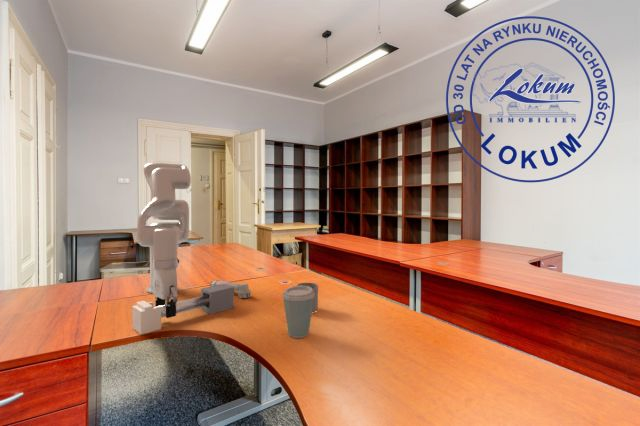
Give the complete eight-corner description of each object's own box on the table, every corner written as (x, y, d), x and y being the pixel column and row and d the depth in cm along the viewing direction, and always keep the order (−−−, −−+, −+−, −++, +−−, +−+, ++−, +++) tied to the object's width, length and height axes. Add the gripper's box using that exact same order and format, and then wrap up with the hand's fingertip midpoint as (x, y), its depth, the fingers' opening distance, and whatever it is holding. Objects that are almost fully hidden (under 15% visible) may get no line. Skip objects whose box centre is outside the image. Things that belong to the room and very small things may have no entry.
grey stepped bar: (217, 279, 155) (252, 281, 140) (218, 292, 155) (253, 296, 140) (208, 281, 151) (243, 283, 136) (209, 295, 150) (244, 299, 136)
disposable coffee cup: (301, 344, 96) (302, 296, 95) (274, 335, 102) (275, 290, 101) (319, 332, 105) (320, 288, 104) (294, 324, 111) (294, 282, 110)
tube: (143, 319, 106) (143, 307, 106) (204, 304, 123) (204, 293, 123) (147, 323, 104) (147, 310, 103) (209, 306, 120) (209, 296, 120)
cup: (320, 308, 128) (321, 284, 127) (311, 315, 120) (312, 289, 120) (302, 305, 131) (303, 281, 131) (292, 311, 124) (293, 286, 123)
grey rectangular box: (201, 309, 123) (201, 288, 123) (224, 303, 131) (224, 283, 131) (210, 314, 119) (210, 292, 118) (233, 307, 126) (233, 287, 126)
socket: (132, 327, 106) (132, 303, 105) (152, 322, 110) (152, 298, 110) (140, 334, 101) (140, 308, 100) (161, 328, 105) (161, 304, 105)
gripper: (144, 261, 112) (144, 310, 113) (164, 269, 100) (165, 323, 101) (165, 258, 117) (166, 304, 118) (188, 266, 106) (187, 317, 107)
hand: (165, 313), depth 110 cm, fingers open, 8 cm apart
